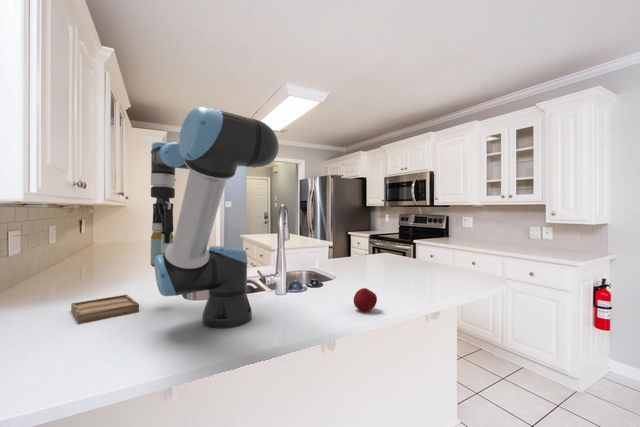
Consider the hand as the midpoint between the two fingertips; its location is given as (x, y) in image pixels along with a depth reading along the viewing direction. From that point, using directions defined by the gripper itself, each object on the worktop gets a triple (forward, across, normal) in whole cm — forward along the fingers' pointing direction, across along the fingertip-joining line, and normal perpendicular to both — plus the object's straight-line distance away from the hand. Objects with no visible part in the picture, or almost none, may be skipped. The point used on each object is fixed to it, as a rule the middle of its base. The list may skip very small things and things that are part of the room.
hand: (162, 251), depth 104 cm
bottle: (+5, 0, 0) cm, 5 cm away
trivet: (+20, +9, +15) cm, 26 cm away
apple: (+20, -52, -51) cm, 75 cm away
